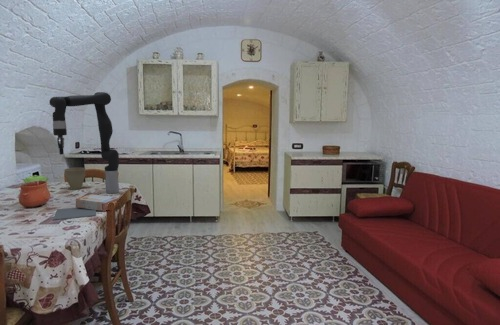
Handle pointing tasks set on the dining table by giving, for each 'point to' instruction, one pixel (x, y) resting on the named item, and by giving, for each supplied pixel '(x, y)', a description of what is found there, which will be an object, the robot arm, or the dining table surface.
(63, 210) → the rubber mat
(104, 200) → the cracker box
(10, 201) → the dining table surface
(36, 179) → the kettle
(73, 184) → the plant pot
